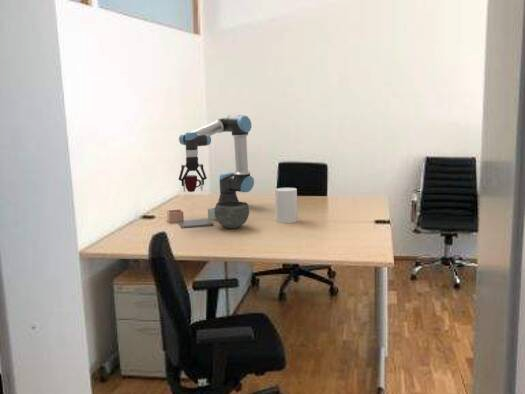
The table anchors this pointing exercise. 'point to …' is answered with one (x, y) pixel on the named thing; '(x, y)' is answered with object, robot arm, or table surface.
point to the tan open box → (175, 215)
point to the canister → (286, 205)
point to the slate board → (195, 223)
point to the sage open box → (211, 214)
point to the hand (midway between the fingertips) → (193, 190)
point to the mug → (191, 182)
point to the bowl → (231, 213)
